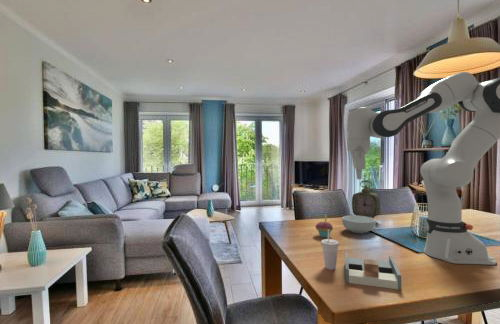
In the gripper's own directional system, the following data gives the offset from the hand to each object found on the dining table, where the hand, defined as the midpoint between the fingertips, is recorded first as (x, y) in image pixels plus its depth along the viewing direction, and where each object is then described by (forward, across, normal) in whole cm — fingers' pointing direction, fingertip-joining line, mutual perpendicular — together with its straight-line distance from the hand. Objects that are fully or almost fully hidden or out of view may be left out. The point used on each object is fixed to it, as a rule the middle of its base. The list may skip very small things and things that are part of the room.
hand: (359, 179), depth 111 cm
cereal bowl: (+31, +32, -1) cm, 45 cm away
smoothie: (+31, -19, +11) cm, 38 cm away
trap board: (+31, -22, -2) cm, 38 cm away
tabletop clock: (+31, +56, -7) cm, 65 cm away
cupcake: (+31, +19, +16) cm, 40 cm away
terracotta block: (+29, -27, -2) cm, 39 cm away
